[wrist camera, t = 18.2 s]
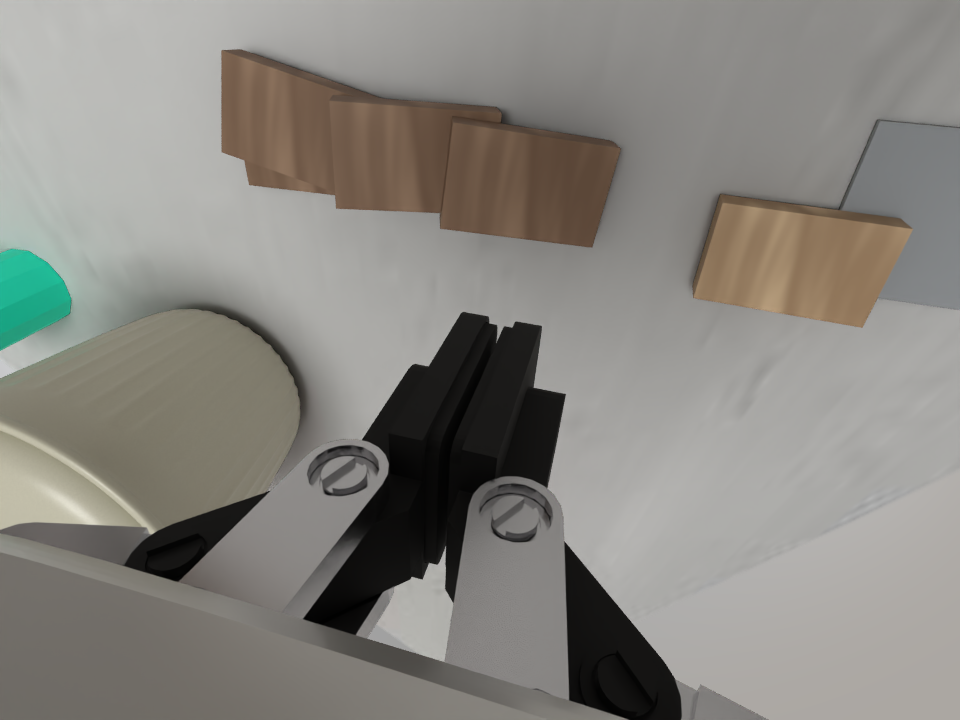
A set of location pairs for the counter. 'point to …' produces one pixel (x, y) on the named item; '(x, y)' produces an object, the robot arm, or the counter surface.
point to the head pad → (915, 206)
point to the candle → (28, 296)
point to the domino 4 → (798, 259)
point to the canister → (145, 424)
